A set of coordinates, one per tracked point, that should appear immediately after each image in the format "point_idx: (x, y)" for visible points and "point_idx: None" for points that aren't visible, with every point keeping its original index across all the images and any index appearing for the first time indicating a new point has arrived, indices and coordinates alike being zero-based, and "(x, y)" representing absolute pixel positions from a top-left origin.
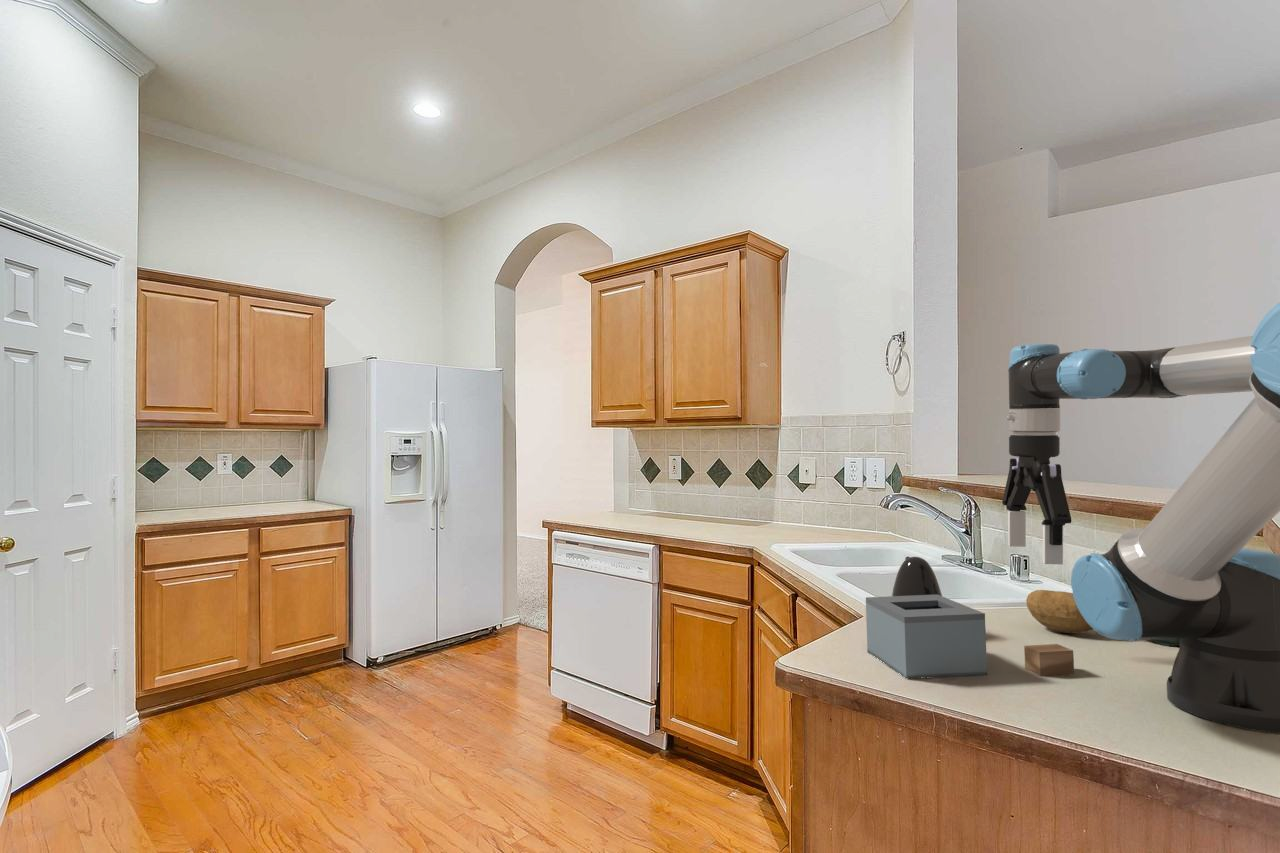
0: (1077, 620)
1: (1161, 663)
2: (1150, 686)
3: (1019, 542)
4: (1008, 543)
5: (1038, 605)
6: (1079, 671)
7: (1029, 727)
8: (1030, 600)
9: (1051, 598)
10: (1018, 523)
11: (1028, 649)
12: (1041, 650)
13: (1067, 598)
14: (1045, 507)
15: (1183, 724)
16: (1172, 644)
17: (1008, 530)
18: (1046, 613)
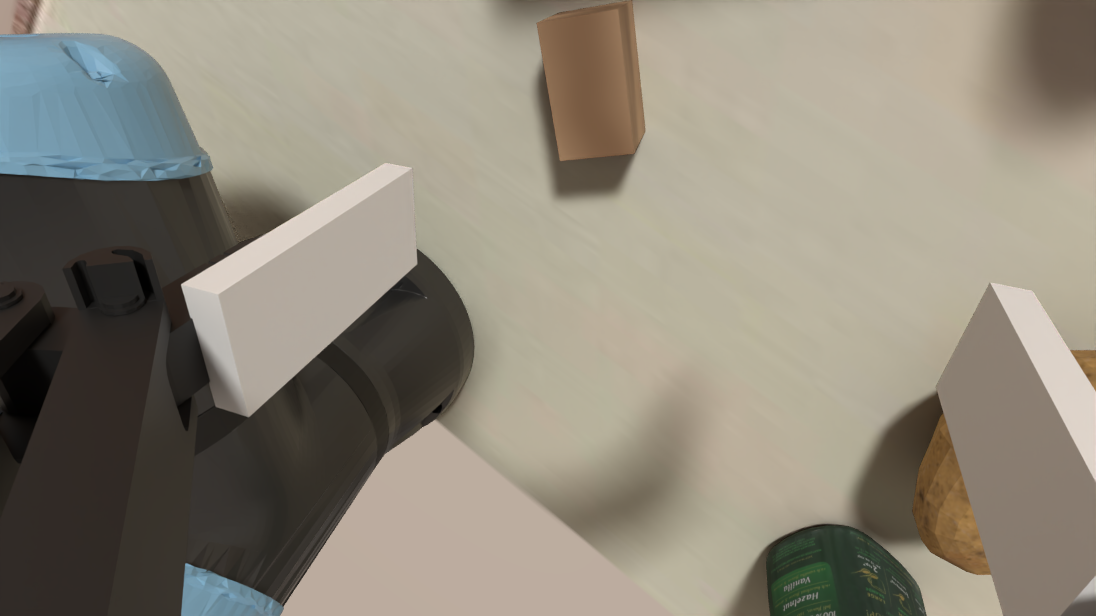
0: (939, 426)
1: (658, 416)
2: (492, 269)
3: (962, 369)
4: (1031, 300)
5: (1093, 380)
6: (602, 170)
7: None
8: None
9: None
10: (1012, 488)
11: (596, 12)
12: (556, 44)
13: None
14: (44, 408)
15: (273, 165)
16: (783, 540)
17: (1074, 372)
18: None
